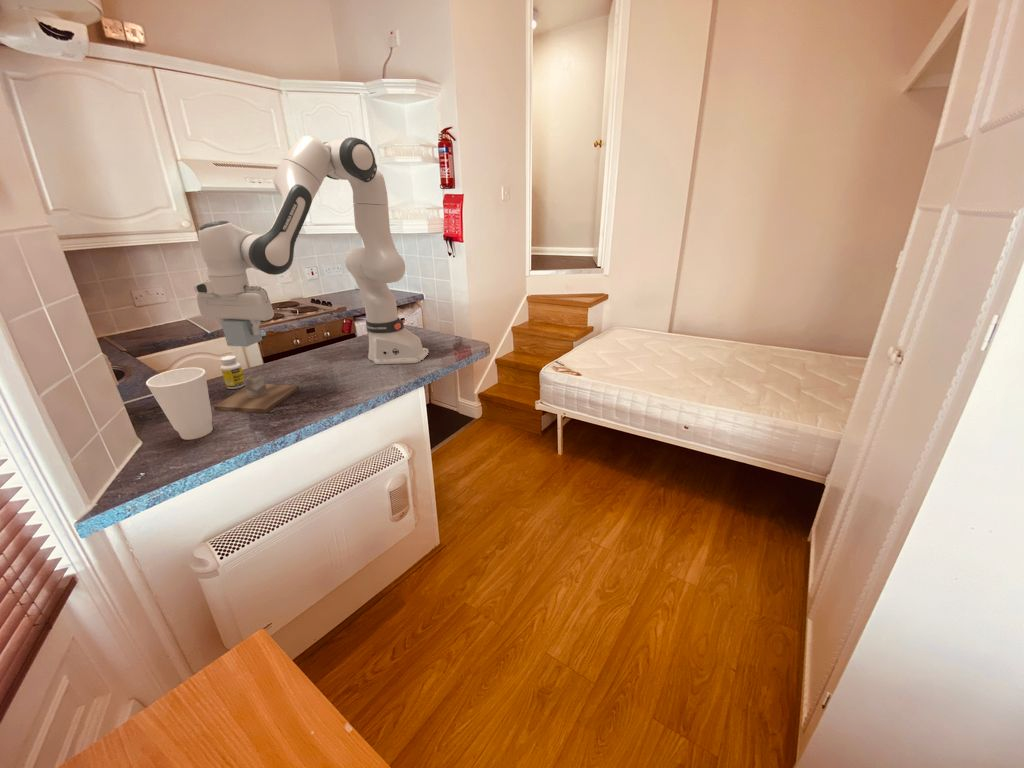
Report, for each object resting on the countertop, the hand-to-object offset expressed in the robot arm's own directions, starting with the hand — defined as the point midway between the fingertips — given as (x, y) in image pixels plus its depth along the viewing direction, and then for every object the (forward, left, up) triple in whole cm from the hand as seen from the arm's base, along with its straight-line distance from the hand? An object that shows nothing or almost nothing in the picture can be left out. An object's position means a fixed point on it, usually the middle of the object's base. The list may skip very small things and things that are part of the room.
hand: (243, 334), depth 121 cm
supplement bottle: (+13, -7, -20) cm, 25 cm away
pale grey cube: (0, 0, -3) cm, 3 cm away
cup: (+3, +21, -20) cm, 29 cm away
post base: (0, +1, -20) cm, 20 cm away
